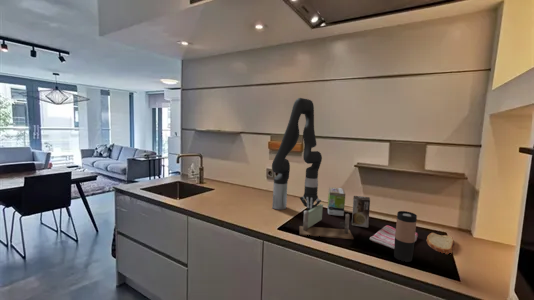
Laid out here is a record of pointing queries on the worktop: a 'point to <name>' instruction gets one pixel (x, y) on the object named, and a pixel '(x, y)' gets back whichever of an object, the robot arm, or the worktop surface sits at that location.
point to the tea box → (336, 201)
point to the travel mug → (405, 236)
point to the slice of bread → (440, 243)
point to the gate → (315, 215)
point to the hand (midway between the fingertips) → (309, 214)
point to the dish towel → (386, 236)
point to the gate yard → (326, 229)
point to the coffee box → (361, 211)
